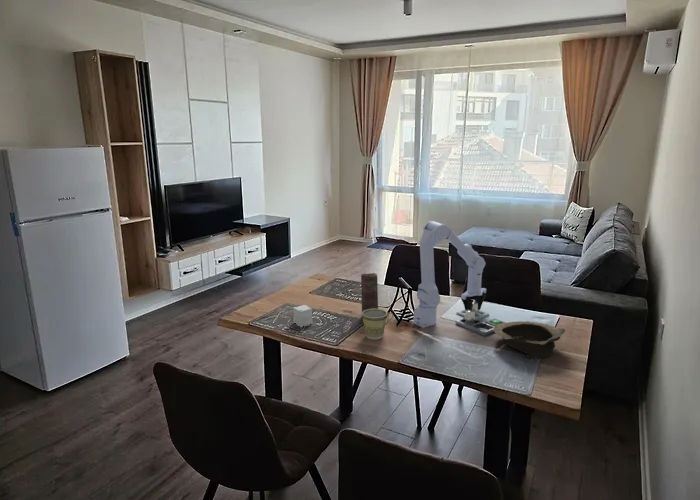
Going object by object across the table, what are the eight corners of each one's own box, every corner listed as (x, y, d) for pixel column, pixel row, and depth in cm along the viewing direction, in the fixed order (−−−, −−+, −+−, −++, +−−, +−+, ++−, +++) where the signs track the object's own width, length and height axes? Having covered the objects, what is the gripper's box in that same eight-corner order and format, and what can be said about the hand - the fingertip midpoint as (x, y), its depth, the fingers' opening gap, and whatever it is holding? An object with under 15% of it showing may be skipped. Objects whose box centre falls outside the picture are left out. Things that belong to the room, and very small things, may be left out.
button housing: (497, 330, 188) (497, 326, 188) (485, 326, 193) (485, 321, 192) (506, 327, 192) (506, 322, 191) (494, 322, 196) (494, 318, 196)
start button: (496, 328, 190) (496, 323, 190) (490, 326, 193) (490, 320, 192) (500, 326, 192) (501, 321, 191) (494, 324, 194) (495, 319, 194)
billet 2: (473, 317, 200) (474, 305, 199) (466, 315, 203) (466, 302, 202) (479, 315, 202) (479, 303, 201) (471, 313, 206) (472, 300, 204)
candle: (358, 318, 203) (358, 275, 198) (364, 312, 209) (364, 270, 204) (375, 320, 200) (375, 276, 195) (380, 314, 207) (380, 272, 202)
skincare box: (305, 320, 202) (305, 304, 200) (312, 324, 197) (312, 308, 195) (293, 323, 198) (292, 307, 196) (300, 327, 193) (299, 311, 191)
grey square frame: (474, 322, 196) (474, 318, 196) (456, 315, 204) (456, 311, 204) (488, 317, 202) (489, 313, 201) (470, 310, 210) (471, 306, 209)
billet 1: (470, 327, 189) (470, 313, 188) (462, 324, 192) (463, 311, 191) (476, 325, 192) (477, 311, 190) (468, 322, 195) (469, 308, 193)
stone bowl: (558, 369, 156) (558, 344, 154) (485, 357, 170) (484, 333, 168) (568, 341, 177) (568, 318, 175) (502, 332, 190) (501, 311, 188)
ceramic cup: (366, 342, 178) (366, 319, 176) (359, 332, 188) (359, 309, 185) (397, 338, 182) (398, 315, 179) (388, 329, 191) (389, 306, 189)
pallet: (484, 338, 181) (484, 332, 181) (455, 326, 193) (455, 320, 193) (497, 333, 186) (497, 327, 185) (468, 321, 198) (468, 316, 197)
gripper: (470, 287, 192) (469, 317, 195) (492, 281, 200) (490, 310, 203) (457, 283, 197) (456, 312, 201) (479, 277, 206) (477, 305, 209)
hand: (472, 311), depth 202 cm, fingers open, 6 cm apart
